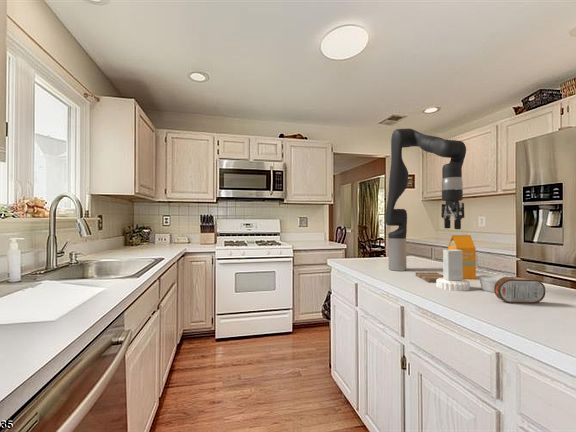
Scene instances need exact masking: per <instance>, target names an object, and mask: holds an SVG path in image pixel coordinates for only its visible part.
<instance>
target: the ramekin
mask: <svg viewBox="0 0 576 432" xmlns="http://www.w3.org/2000/svg"><path fill="white" fill-rule="evenodd" d="M503 277H506V276H505V275H504V276H503V275H498V274H497V275H495V274H481V275H479V276H478V279H479V283H480V288H481V290H483V291H484V292H486V293H491V294H495V292H494V286H495V284H496V282H497V281H498V280H499V279H501V278H503Z"/></svg>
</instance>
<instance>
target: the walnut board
mask: <svg viewBox="0 0 576 432" xmlns="http://www.w3.org/2000/svg"><path fill="white" fill-rule="evenodd" d="M415 276H417V278H419V279H422V280H423V281H425V282H426V283H429V284H430V283H432V284H433V283H435V284H436V280H437V279H439V278H443V274H440V273H438V272H435V271H434V272H427V271H426V272H421V271H420V272H419V271H418V272H415Z"/></svg>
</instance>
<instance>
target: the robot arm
mask: <svg viewBox="0 0 576 432" xmlns="http://www.w3.org/2000/svg"><path fill="white" fill-rule="evenodd" d="M390 146H391V147H390V149H391V150H390V157H391V158H390V171H389V177H388V181H389V182H388V193H387V202H386V207H385V208H386V209H385V216H384V217H385V218H384V221H385V224H386V226H389V227H392V226H393V227H395V226H397V227H398V228H397V229H395V230H393V231H391V232H389V233H388V235H387V236H388V237H387V238H388V240H387V243H388V270H389V271H395V272H403V271H407V231H408V229H407V228H408V227H407V226H408V212H407V210H406V209H405V208H395V207H396V203H397V201H398V199H400V197H401V196H402V194H403V193H404V192H405V190H406V189H407V187H408V183H409V171H408V169H407V166H406V164H405V163H404V159H403V154H402V152H403V149H404V148H411V147H418V148H420V149H421V151H424V152H427V153H431V154H434V155H436V156H438V157H442V158H447V159H448V158H449V159H450V161H449V163H448V162H447V163H445V164H443V165H442V171H441V173H442V176H441V177H442V179H441V201H442V202H445V203H441V212H440V213H441V218H442V219H443V223H444V225H443V227H444V229H451V219H452V216H453V219H454V221H453V222H454V223H453V225H454V226H453V229H454V230H461V229H462V220H463V219H465V204H464V202H462V201H463V200H464V197H463V195H464V194H463V193H464V190H463V189H464V188H463V177H462V176H463V171H462V169H463V165H464V160H465V158H466V154H467V146H466V144H465V143H464V142H463V141H462V140H454V139H445V138H443V137H439V136H435V135H428V134H424V133H422V132H420V131H417V130H416V129H413V128H396V129H394V130H393V132H392V133H391V140H390ZM460 201H461V202H460Z"/></svg>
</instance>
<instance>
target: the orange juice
mask: <svg viewBox="0 0 576 432" xmlns="http://www.w3.org/2000/svg"><path fill="white" fill-rule="evenodd" d="M447 248H448V249H447V250H462V251H463V279H464V280H476V276H477V273H476V271H477V270H476V268H477V261H476V260H477V259H476V258H477V257H476V254H477V253H476V250H477V249H476V246H475V243H474V240H473V238H472V236H471V235H470V234H469V235H467V234H466V235H465V234H464V235H463V234H462V235H460V234H459V235H455V234H453V235H452V236H451V239H450V241H449V243H448V247H447Z"/></svg>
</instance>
